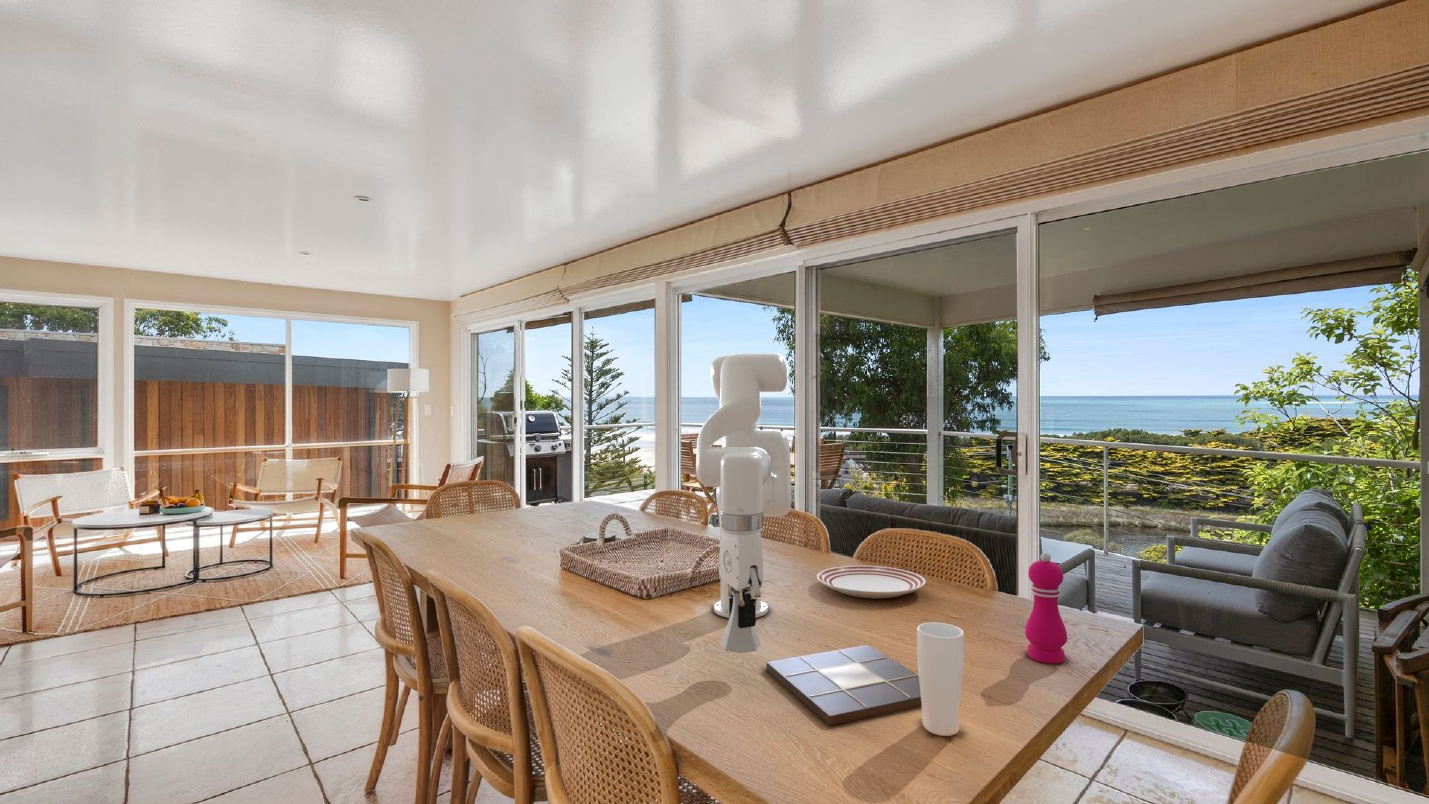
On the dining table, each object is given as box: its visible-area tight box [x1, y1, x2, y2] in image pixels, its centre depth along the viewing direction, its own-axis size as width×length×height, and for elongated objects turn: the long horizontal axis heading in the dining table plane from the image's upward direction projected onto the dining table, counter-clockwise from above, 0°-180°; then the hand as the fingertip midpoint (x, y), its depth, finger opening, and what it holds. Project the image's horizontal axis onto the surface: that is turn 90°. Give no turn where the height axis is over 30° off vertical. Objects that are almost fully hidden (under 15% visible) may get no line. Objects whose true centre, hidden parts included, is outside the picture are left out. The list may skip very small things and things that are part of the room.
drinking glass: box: [916, 621, 965, 737], centre depth 98 cm, size 7×7×15 cm
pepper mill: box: [1024, 552, 1068, 664], centre depth 125 cm, size 7×7×20 cm
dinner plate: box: [816, 565, 927, 599], centre depth 170 cm, size 27×27×3 cm
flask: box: [719, 589, 761, 654], centre depth 118 cm, size 7×7×10 cm
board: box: [765, 644, 922, 727], centre depth 114 cm, size 22×22×2 cm
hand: (742, 621), depth 118 cm, fingers closed on flask, 3 cm apart
